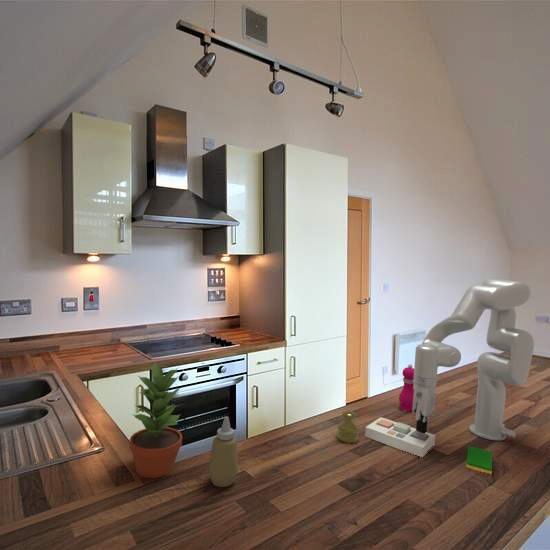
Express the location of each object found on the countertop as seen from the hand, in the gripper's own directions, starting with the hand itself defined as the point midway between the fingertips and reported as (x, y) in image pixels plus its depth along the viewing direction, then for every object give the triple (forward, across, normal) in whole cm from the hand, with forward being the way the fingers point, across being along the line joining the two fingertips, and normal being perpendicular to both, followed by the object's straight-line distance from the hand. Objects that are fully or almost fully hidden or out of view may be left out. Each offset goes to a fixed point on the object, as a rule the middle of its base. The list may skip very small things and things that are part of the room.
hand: (421, 431), depth 139 cm
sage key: (+3, -1, +7) cm, 7 cm away
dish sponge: (+6, +3, -18) cm, 19 cm away
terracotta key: (+4, -1, +13) cm, 14 cm away
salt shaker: (+5, -15, +21) cm, 26 cm away
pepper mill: (+6, +31, +17) cm, 36 cm away
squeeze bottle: (+4, -65, +32) cm, 72 cm away
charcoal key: (+4, -1, 0) cm, 4 cm away
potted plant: (+3, -74, +50) cm, 89 cm away
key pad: (+5, -2, +7) cm, 9 cm away
